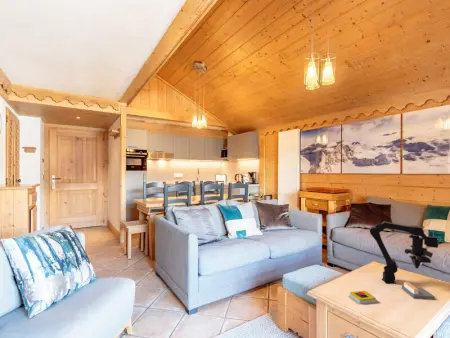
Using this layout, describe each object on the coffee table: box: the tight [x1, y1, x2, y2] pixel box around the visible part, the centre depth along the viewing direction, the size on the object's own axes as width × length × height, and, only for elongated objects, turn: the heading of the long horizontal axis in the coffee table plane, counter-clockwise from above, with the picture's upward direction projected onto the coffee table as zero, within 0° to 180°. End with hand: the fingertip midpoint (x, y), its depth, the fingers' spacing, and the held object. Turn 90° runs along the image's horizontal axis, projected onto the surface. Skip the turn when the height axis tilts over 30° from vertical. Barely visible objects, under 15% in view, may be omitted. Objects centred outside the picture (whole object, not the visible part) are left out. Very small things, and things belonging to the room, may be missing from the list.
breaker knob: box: [403, 281, 418, 294], centre depth 158 cm, size 2×10×3 cm, turn 174°
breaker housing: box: [401, 285, 436, 301], centre depth 158 cm, size 12×12×2 cm
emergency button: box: [347, 290, 380, 305], centre depth 151 cm, size 9×4×15 cm
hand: (416, 268), depth 167 cm, fingers closed
